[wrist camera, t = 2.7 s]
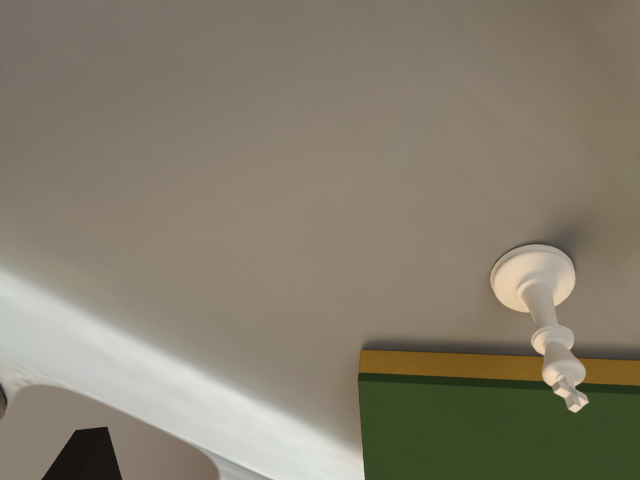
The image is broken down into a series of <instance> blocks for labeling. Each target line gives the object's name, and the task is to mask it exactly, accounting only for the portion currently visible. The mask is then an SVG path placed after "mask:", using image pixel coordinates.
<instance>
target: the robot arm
mask: <svg viewBox="0 0 640 480" xmlns="http://www.w3.org/2000/svg"><path fill="white" fill-rule="evenodd" d="M4 414H5V400H4V397H3V394H2V392H1V389H0V421H1V420H2V418H3V417H4ZM42 480H122V477H121V474H120V471H119V467H118V463H117V459H116V456H115V452H114V449H113V445H112V442H111V438H110V435H109V431H108V428H107V427H100V428H91V429H82V430H76V431H75V432H74V433H73V435H72V437H71V438H70V439H69V441H68V442H67V444H66V445H65V447H64V448H63V450H62V451H61V453H60V454H59V455H58V457H57V458H56V460H55V461H54V463H53V464H52V465H51V467H50V468H49V470H48V471H47V473H46V474H45V476H44V477H43V478H42Z"/></svg>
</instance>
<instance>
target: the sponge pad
mask: <svg viewBox="0 0 640 480" xmlns="http://www.w3.org/2000/svg"><path fill="white" fill-rule="evenodd" d="M577 359H578V360H579V361H580V362H581V363H582V364H583V366H584V368H585V370H586V375H585V378H584V380H583V381H582V382H581V383H580V384H578V385H576V386H575V389H576V390H578V391H580V392H581V393H583V394H585V395H586V396H587V399H588V401H589V403H587V404H586V405H584V406H583V407H582V408H581V409H580V410H578V411H577V412H576V413H575V412H573V411H571V410H569V409H568V408H567V405H566V402H565V398H563V397H561V396H559V395H558V394H556V393H554V391H553V388H552V386H550V385H548V384H547V383H546V382H545V381H544V380H543V377H542V367H543V363H544V357H536V356H510V355H485V354H459V353H434V352H408V351H383V350H361V355H360V366H359V375H358V389H359V403H360V417H361V431H362V445H363V459H364V474H365V480H640V361H638V360H612V359H587V358H577Z"/></svg>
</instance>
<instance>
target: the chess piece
mask: <svg viewBox="0 0 640 480" xmlns="http://www.w3.org/2000/svg"><path fill="white" fill-rule="evenodd" d="M490 282H491V287H492V289H493V291H494V293H495V295H496V297H497V298H498V300H499V301H500V302H501V303H502V304H504V305H505V306H507V307H508V308H511V309H513V310H516V311H520V312H530V313H531V315H532V317H533V319H534V321H535V323H536V325H537V328H538V330H537V331H536V332H535V333H534V334H533V336H532V338H531V343H532V346H533V347H534V348H535V350H536V351H537V352H538V353H540V354H542V355H544V363H543V367H542V377H543V380H544V381H545V382H546V383H547V384H548V385H550V386H552V388H553V391H554V393H556V394H558V395H559V396H561V397H563V398H565V402H566V405H567V408H568V409H569V410H571V411H573V412H575V413H576V412H577V411H578V410H580V409H581V408H582V407H583V406H584V405H586V404H587V403H589V401H588V399H587V396H586V395H585V394H583V393H581V392H580V391H578V390H576V389H575V386H576V385H578V384H580V383H581V382H582V381H583V380H584V378H585V375H586V370H585V368H584V366H583V364H582V363H581V362H580V361H579V360H578V359H577V358H576V357H575V356H574V355H573V354H572V353H571V351H570V349H571V348H572V346H573V344H574V335H573V333H572V331H571V330H570V329H568V328H567V327H564V326H561V325H558V322H557V318H556V312H555V306H557V305H558V304H560V303H561V302H563V301H564V300H565V299H566V298H567V297H568V296H569V295H570V293H571V292H572V290H573V288H574V285H575V272H574V266H573V264H572V261H571V260H570V258H569V257H568V256H567V255H566V254H565V253H564V252H562V251H561V250H559V249H557V248H554V247H551V246H547V245H539V244H535V245H526V246H522V247H519V248H516V249H514V250H511V251H510V252H508V253H506V254H505V255H504V256H502V257H501V258H500V259H499V260H498V261H497V262H496V264H495V265H494V267H493V269H492V272H491V276H490Z"/></svg>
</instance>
